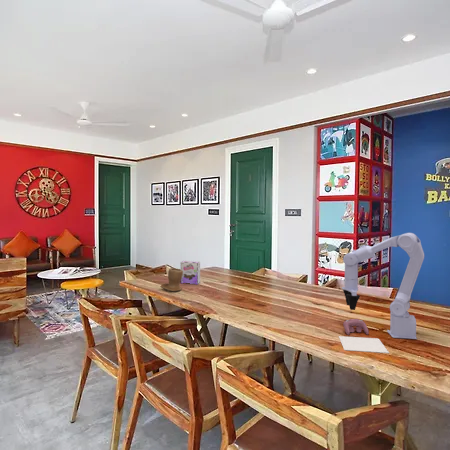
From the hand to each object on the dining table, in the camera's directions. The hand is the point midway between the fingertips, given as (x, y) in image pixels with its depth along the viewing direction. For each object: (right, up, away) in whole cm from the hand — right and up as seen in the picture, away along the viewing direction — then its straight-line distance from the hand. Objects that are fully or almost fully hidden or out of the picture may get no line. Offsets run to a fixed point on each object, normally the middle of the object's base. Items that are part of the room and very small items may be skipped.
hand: (350, 307), depth 154 cm
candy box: (-85, -5, +92) cm, 125 cm away
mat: (-4, -9, -22) cm, 24 cm away
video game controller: (-2, -9, -10) cm, 13 cm away
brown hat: (-95, -6, +72) cm, 119 cm away
